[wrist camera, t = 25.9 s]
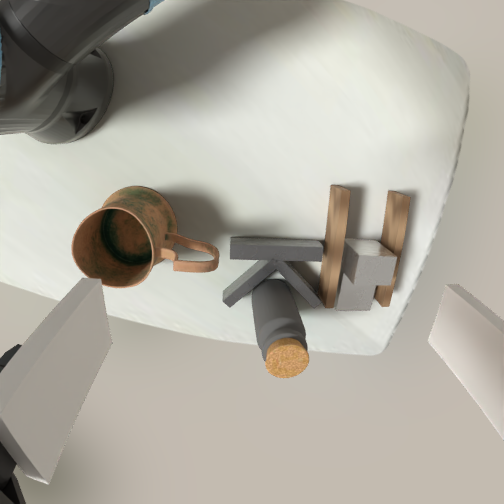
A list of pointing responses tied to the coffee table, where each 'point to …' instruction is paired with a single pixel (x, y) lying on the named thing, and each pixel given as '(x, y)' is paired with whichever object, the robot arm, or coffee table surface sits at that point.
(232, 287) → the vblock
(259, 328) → the bottle
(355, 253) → the grey stepped block
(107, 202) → the mug
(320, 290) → the parallel wooden rails
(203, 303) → the coffee table surface
